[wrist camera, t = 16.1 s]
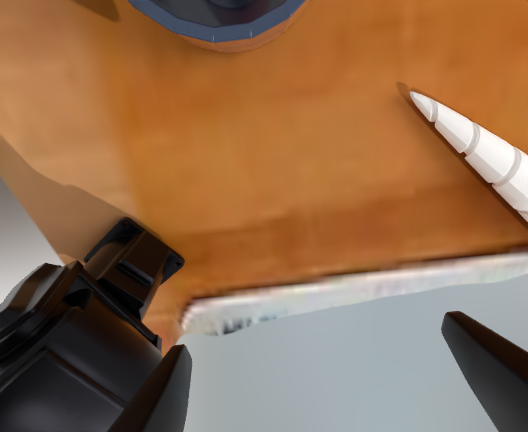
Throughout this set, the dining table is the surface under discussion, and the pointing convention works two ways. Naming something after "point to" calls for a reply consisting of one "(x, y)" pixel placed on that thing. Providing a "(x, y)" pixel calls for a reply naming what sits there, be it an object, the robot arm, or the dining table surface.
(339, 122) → the dining table surface
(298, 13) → the pot
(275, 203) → the dining table surface
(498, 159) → the unicorn horn
